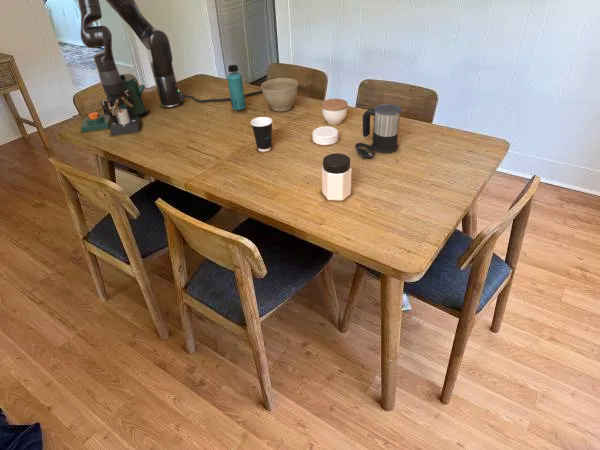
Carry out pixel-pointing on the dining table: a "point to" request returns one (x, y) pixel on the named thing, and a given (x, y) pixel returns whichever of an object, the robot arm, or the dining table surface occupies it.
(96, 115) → the button
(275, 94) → the planter bowl
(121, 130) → the dial base
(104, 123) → the switch block
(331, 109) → the trinket box
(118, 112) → the dial
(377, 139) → the milk frother
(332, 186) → the jar
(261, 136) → the dixie cup
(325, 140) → the coaster
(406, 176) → the dining table surface
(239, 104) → the beverage bottle
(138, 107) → the kettle
